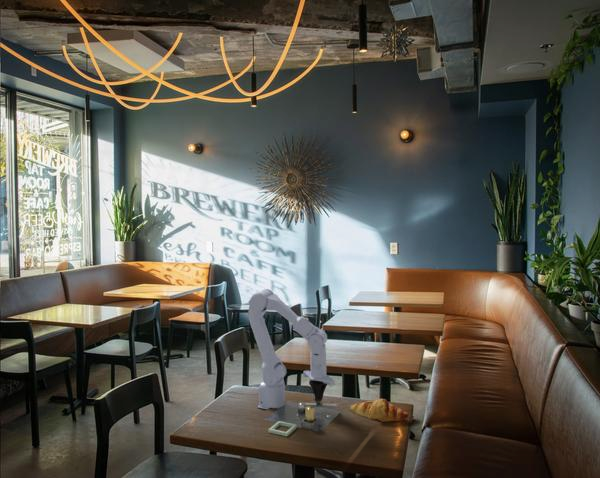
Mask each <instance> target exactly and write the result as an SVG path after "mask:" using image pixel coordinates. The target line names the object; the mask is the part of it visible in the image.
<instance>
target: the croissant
mask: <svg viewBox="0 0 600 478" xmlns="http://www.w3.org/2000/svg"><path fill="white" fill-rule="evenodd" d="M350 410H351V412H353V413H354V414H356V415H359V416H361V417H365V418H367V419H369V420H378V421H382V423H383V422H399V421H404V420H406V419H408V417H409V413H408V412H407V411H403V410H402V409H401V408H399V407H396V406H395V405H394V404H393V403H390V402H388V400H387V399H386V398H379V399H376V400H366V401H365V402H357V403H355V404H351V405H350Z"/></svg>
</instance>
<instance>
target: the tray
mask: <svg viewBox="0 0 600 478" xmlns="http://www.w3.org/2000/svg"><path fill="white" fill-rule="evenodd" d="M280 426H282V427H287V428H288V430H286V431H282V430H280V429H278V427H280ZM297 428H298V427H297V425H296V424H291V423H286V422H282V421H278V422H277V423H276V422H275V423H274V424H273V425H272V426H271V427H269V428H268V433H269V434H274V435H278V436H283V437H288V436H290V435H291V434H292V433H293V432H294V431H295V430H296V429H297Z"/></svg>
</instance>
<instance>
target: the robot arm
mask: <svg viewBox="0 0 600 478" xmlns="http://www.w3.org/2000/svg"><path fill="white" fill-rule="evenodd" d="M267 311H276V312H277V314H279V315H281V316H282V317H283V318H284V319H286V320H287V321H289V322H290V323H291V324H292V329H293V330H294V331H295V332H296V333H298V334H299V335H300V336H301V337H303V339H305V340H306V341H307V345H308V346H309V348H310V349H309V350H310V353H309V354H310V355H309V356H310V370H308V369H307V370H306V369H305V370H304V371H303V373H302V376H303V377H304V378H308V380H309V382H308V384H309V386H310V388H311V390H312V392H313V395H314V399H315V398H322V399H324V398H323V397H324V392H325V391H326V389H327V388H326V387H327V386H328V387H334V386H336V382H335V381H336V380H335V379H334V378H332V377H330V376H329V375H328V374H327V351H326V350H327V349H326V348H327V346H326V345H327V344H326V343H327V341H328V335H327V333H326V330H324V329H322V328H319V327H318V326H315V325H314V324H313V323H312V322H311V321H310V320H309V318H308V317H305V316H298V315H297V314H296V312H294V311H293V310H292V309H291V308H290V307H289V306H288V305H287V304H286V303H285V302H284V301H282V299H281V298H280V297H279V295H278V294H276V293H274V292H273V291H272V290H271V289H267V288H264V289H263V290H261V291H260V292H257V293H254V294H253V295H252V296H251V297H250V299H249V300H248V313H247V317H248V318H247V319H248V321H249V324H250V328H251V329H252V332H253V336H254V339H255V341H256V344H257V348H258V350H259V353H260V356H261V360H262V365H261V371H262V382H260V384H259V385H258V386H259V388H258V406H257V408H259V409H263V410H269V409H271V408H272V409H278V408H280V407H282V406H284V405H285V403H286V397H285V396H286V395H285V393H286V392H285V391H286V390H285V387H286V386H285V380H284V377H285V376H286V375H287V367H286V366H285V365H284V363H283V361H282V360H281V358H280V357H279V356H277V354H276V351H275V348H274V345H273V342H272V340H271V336H270V334H269V331H268V328H267V325H266V322H265V318H264V315H265V313H266V312H267Z"/></svg>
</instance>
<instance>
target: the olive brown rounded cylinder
mask: <svg viewBox="0 0 600 478" xmlns="http://www.w3.org/2000/svg"><path fill="white" fill-rule="evenodd" d="M305 422H309V423H313V422H314V407H312V406H307V407H306V408H305Z"/></svg>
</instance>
